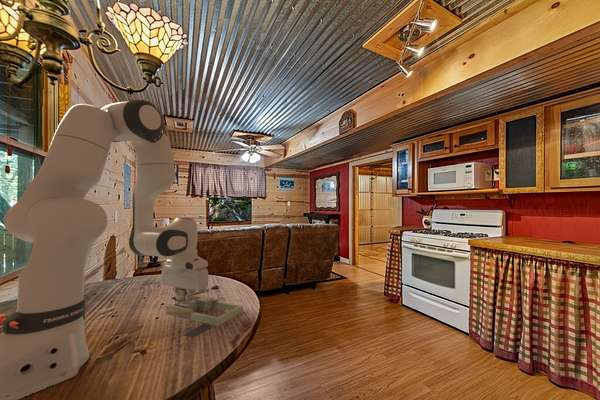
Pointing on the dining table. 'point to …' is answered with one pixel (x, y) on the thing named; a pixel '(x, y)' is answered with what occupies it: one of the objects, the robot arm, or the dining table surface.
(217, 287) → the claw hammer
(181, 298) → the wooden block with peg
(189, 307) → the tan cube
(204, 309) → the beige cube
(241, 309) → the open picture frame
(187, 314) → the slot rails
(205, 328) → the pad
